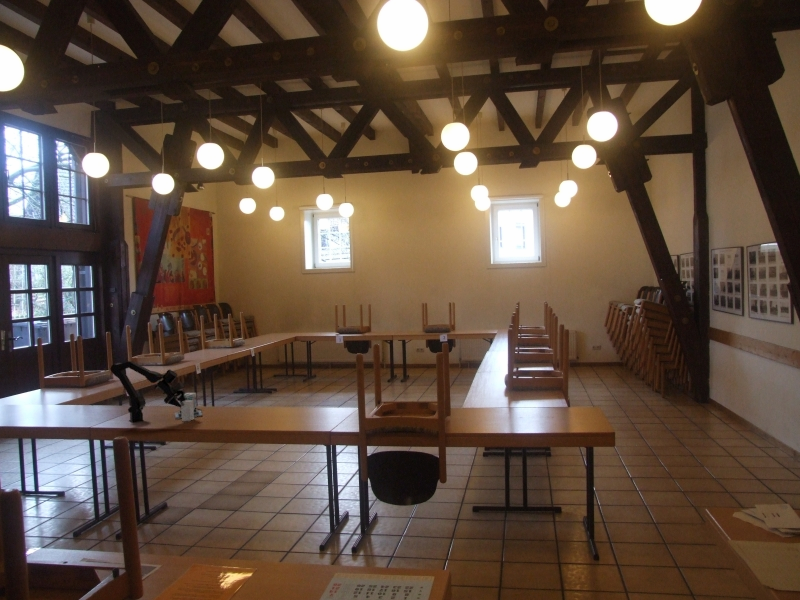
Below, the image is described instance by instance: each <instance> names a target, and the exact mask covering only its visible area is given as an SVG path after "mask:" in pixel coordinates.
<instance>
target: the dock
mask: <svg viewBox="0 0 800 600" xmlns="http://www.w3.org/2000/svg"><path fill="white" fill-rule="evenodd" d="M197 416H202V417H203V413H202V411H201V409H200V410H199V409H198V408H196V409H194V418H198V417H197ZM174 417H175V418H174V419H175V420H181V419H180V418H182V416H181V411H180V410H178V411H177V412H174Z"/></svg>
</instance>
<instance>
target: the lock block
mask: <svg viewBox="0 0 800 600" xmlns="http://www.w3.org/2000/svg"><path fill="white" fill-rule="evenodd" d="M181 406H182V407H181V416H182V419H181V422H192V421H193V420H194V419H195V417H194V404H193V400H185V401H182V402H181ZM191 420H192V421H191Z"/></svg>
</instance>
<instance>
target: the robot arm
mask: <svg viewBox="0 0 800 600" xmlns="http://www.w3.org/2000/svg"><path fill="white" fill-rule="evenodd" d="M127 369H130V370H132V371H134V372H136V373H138V374H140V375H141V376H143V377H145V379H146V380H147V381H148V382H150V383H151V384H154V383H155V384H154V389H155V390H156V389H159V390H161V391H162V394H163V395H165V396H166V397H164V399H163V402H164V403H165V404H167V405H171V406H175V407H178V408H180V407H182V406H181V404H180V402H182V401H185V400H186V398H185V396H184V394H186V391H185V390H184V389H183V388H184V383H183V382H181V381H180V382H178V383H177V384H175V385H170V384H172V383H173V381H175V380H176V379H177V377H178V376H179V375H178V373H177V372H175V371H174V370H171V369H167V371H166V372H165V373H164V374H161V373H160V372H158V371H154V370H150V369H148V368H145V366H143V365H141V364H139V363H136V362H135V361H134V360H128V361H125V362H123V363H122V362H117V363H113V364H112V365H111V366H110V372H111V374H112V375H114V376H115V377H116V378H118V380H119V382H120V383H121V385H122V387H123V388H124V390H125V391H126V393H127V395H128V396H129V401H130V402H129V403H130V407H128V409H127V411H128V413H129V420H128V421H129V422H131V423H135V422H136V423H137V422H142V421H144V413H143V410H144V408H145V406H146V404H147V403H146V398H145V396H144V395H143V394H139V393H137V390H136V389H135V387H134V385H133V383H132V382H131V380H130V378H129V376H128V375H127Z"/></svg>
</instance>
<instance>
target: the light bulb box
mask: <svg viewBox="0 0 800 600" xmlns="http://www.w3.org/2000/svg"><path fill="white" fill-rule="evenodd" d="M184 396H185V398H186V400H193V404H194V409H195V408H196V409H198V407H197V405H198V404H197V401H198V400H197V392H185V394H184ZM179 403H180V404H181V402H180V401H179ZM179 411H181V407H179Z"/></svg>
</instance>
